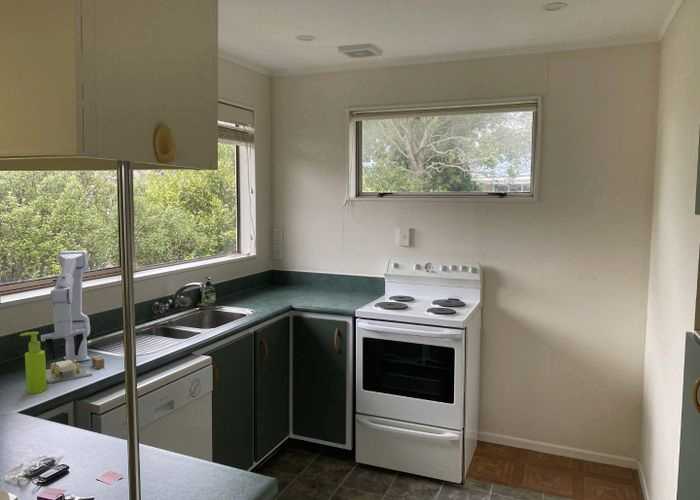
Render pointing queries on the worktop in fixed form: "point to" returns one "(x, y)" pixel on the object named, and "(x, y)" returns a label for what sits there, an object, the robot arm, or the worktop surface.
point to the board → (65, 365)
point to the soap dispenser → (35, 365)
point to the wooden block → (97, 361)
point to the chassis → (66, 373)
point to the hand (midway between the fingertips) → (65, 356)
